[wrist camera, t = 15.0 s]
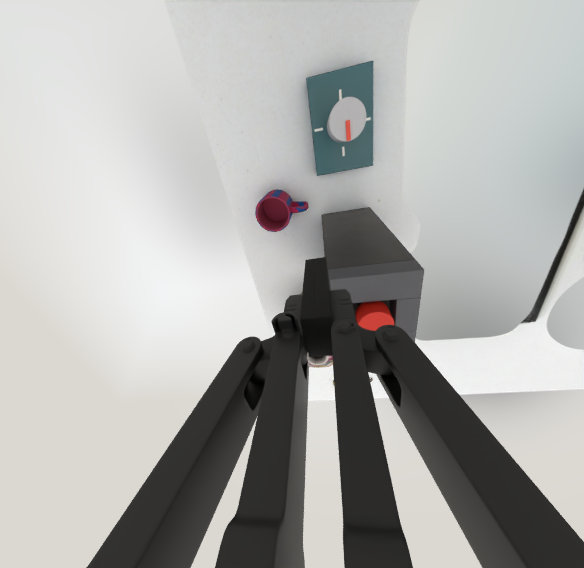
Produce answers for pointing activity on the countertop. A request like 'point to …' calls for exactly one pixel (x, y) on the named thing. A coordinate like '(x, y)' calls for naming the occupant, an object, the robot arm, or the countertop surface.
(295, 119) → the countertop surface
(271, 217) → the cup
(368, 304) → the power button
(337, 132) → the dial
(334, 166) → the dial panel
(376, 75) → the countertop surface
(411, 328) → the button box
